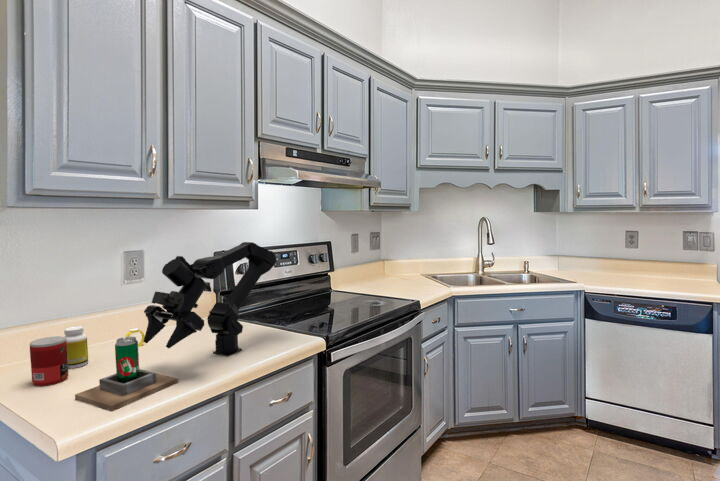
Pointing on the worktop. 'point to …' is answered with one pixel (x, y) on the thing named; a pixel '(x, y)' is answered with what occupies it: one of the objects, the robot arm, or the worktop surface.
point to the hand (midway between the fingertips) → (155, 344)
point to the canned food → (49, 360)
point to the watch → (134, 332)
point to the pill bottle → (76, 347)
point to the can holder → (125, 390)
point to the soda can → (127, 359)
